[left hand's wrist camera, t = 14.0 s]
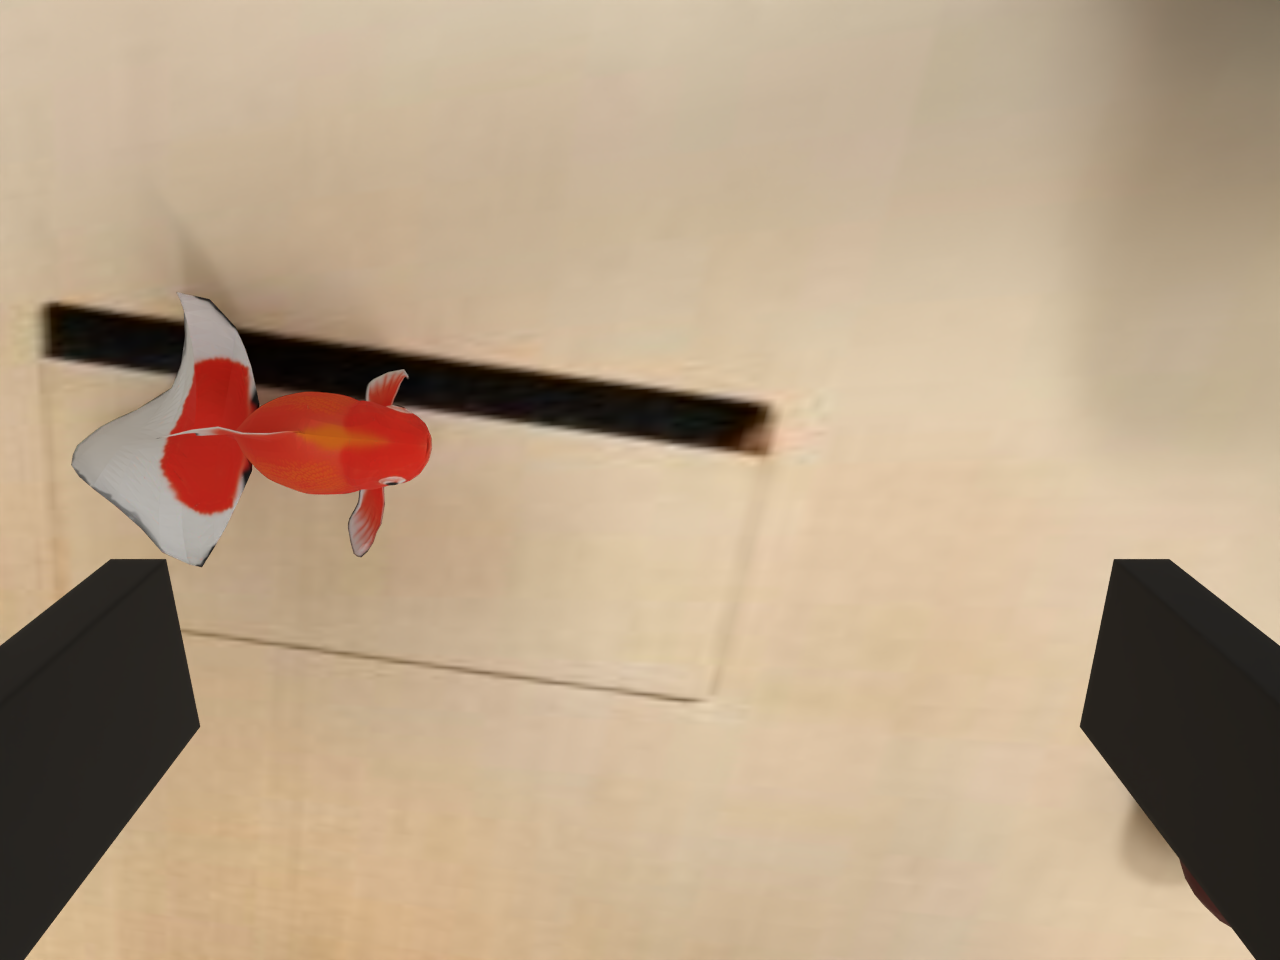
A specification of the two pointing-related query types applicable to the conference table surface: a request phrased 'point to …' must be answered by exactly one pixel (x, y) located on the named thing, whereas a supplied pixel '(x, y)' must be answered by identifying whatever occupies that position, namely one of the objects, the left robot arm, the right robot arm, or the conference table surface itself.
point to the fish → (246, 445)
